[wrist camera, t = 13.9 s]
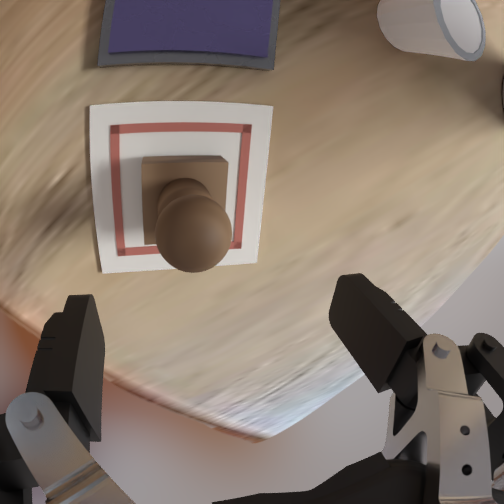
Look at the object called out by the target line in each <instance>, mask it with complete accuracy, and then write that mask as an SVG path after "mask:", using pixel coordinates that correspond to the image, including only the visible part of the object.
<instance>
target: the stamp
mask: <svg viewBox="0 0 504 504" xmlns="http://www.w3.org/2000/svg"><path fill="white" fill-rule="evenodd" d="M228 165H229V162H228V161H226V160H225V159H224V158H223V157H222V156H221V155H184V156H148V157H143V158H142V163H141V183H142V213H143V231H144V245H153V244H156V245H157V248H158V250H159V252H160V254H161V256H162V257H163V258H164V259H165V261H166V262H168V263H169V264H170V265H171V266H173V267H174V268H176V269H178V270H181V271H185V272H191V273H195V272H202V271H206V270H208V269H210V268H212V267H214V266H215V265H217V264H218V263H219V262H220V261H221V260H222V259H223V258H224V257H225V255H226V254H227V252H228V250H229V248H230V244H231V240H232V227H231V222H230V219H229V217H228V215H227V213H226V212H225V210H226V194H227V179H228Z"/></svg>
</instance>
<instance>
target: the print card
mask: <svg viewBox="0 0 504 504" xmlns="http://www.w3.org/2000/svg"><path fill="white" fill-rule="evenodd" d="M272 114H273V106H266V105H256V104H243V103H228V102H206V101H149V102H127V103H112V104H100V105H90V163H91V181H92V194H93V206H94V216H95V224H96V233H97V240H98V248H99V254H100V261H101V267H102V273H119V272H134V271H149V270H164V269H176V268H174V267H173V266H171V265H170V264H169V263H168V262H166V261H165V259H164V258H163V257H162V256H161V254H160V252H159V250H158V248H157V245H156V244H153V245H144V231H143V213H142V183H141V163H142V158H143V157H148V156H184V155H221V156H222V157H223V158H224V159H225V160H226V161H228V162H229V165H228V179H227V194H226V210H225V212H226V213H227V215H228V217H229V219H230V222H231V227H232V240H231V244H230V248H229V250H228V252H227V254H226V255H225V257H224V258H223V259H222V260H221V261H220V262H219V263H218V264H217V265H215V266H221V265H235V264H248V263H257V256H258V247H259V238H260V229H261V219H262V210H263V201H264V191H265V182H266V172H267V163H268V153H269V143H270V134H271V124H272Z"/></svg>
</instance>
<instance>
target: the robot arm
mask: <svg viewBox="0 0 504 504" xmlns="http://www.w3.org/2000/svg"><path fill="white" fill-rule="evenodd" d="M503 106H504V81H503ZM329 321H330V324H331V327H332V328H333V330H334V331H335V332H336V334H337V335H338V337H339V338H340V339H341V341H342V342H343V344H344V345H345V347H346V348H347V349H348V351H349V352H350V354H351V355H352V356H353V358H354V359H355V361H356V362H357V363H358V365H359V366H360V368H361V369H362V371H363V372H364V373H365V375H366V376H367V378H368V379H369V380H370V382H371V383H372V385H373V386H374V388H375V389H376V391H377V392H378V393H380V392H383V391H385V390H388V389H392V390H393V393H392V395H391V397H390V405H389V417H388V428H387V436H386V442H385V446H384V448H383V450H382V452H379V453H377V454H375V455H372V456H371V457H368V458H366V459H363V460H361V461H359V462H356V463H354V464H351V465H349V466H346V467H345V468H344V469H342V470H341V471H339V472H338V473H336V474H335V475H334V476H332V477H331V478H329V479H328V480H326V481H325V482H323V483H322V484H320V485H318V486H317V487H315V488H314V489H312V490H309V491H302V492H288V493H259V494H255V495H250V496H245V497H241V498H235V499H230V500H224V501H217V502H212V504H504V347H503V346H502V345H501V344H500V343H499V342H498V341H497V340H496V339H495V338H494V337H492V336H490V335H488V334H485V333H477V334H476V335H475V336H474V337H473V339H472V341H471V342H470V344H469V345H467V346H457V345H456V344H455V343H454V342H453V341H452V340H451V339H449V338H448V337H446V336H443V335H440V334H429V335H427V334H426V333H425V332H424V331H423V330H422V329H421V327H420V326H419V325H418V324H417V323H416V322H415V321H414V320H413V319H412V318H411V317H410V316H409V315H408V314H407V313H406V312H405V311H404V310H403V311H402V308H401V307H400V306H399V305H398V304H397V303H395V301H394V300H393V299H392V298H391V297H390V296H389V295H388V294H387V293H386V292H384V291H383V290H381V289H379V288H378V287H376V286H374V285H373V284H372V283H371V282H370V281H369V280H368V279H367V278H366V277H365V276H364V275H363V274H361V273H357V274H349V275H342V276H340V277H339V279H338V281H337V284H336V288H335V292H334V295H333V299H332V303H331V306H330V310H329ZM104 357H105V342H104V335H103V331H102V327H101V323H100V320H99V316H98V312H97V308H96V304H95V300H94V297H93V295H92V294H88V295H69V296H68V298H67V301H66V304H65V307H64V310H63V312H58V313H54V314H53V315H52V316H51V317H50V319H49V320H48V321H47V322H46V323H45V325H44V328H43V331H42V334H41V340H40V341H39V344H38V351H36V354H35V357H34V361H33V365H32V368H31V372H30V376H29V380H28V384H27V388H26V392H25V393H24V394H22V395H19V396H18V397H16V398H15V399H14V400H13V401H12V402H11V403H10V405H9V407H8V409H7V411H6V413H4V414H1V415H0V504H32V487H38V486H40V487H41V489H42V490H43V492H44V493H45V495H46V497H47V500H46V504H135V503H134V501H133V500H131V499H130V498H129V497H128V496H127V495H126V494H125V493H124V491H123V490H122V489H121V488H120V487H119V486H118V485H117V484H116V483H115V482H114V481H113V480H112V479H111V478H110V477H109V475H108V474H107V473H106V472H105V471H104V470H103V469H102V468H101V467H100V466H99V464H98V463H97V462H96V461H95V460H94V458H93V457H92V456H91V455H90V451H89V450H90V441H95V442H96V441H97V442H100V441H101V409H102V385H103V370H104ZM486 380H487V382H488V383H489V384H490V385H491V387H492V388H493V389H494V390H495V392H496V393H497V394H498V395H499V397H500V398H501V399H502V401H503V411H502V412H501V414H500V415H499V416H498V417H497V418H495V417H494V416H493V415H492V414H491V412H490V411H489V409H488V408H487V407H486V405H485V404H484V403H483V401H482V399H481V397H479V396H478V395H477V394H476V393H477V391H478V390H479V389H480V387H481V386H482V385H483V383H484V382H485V381H486ZM491 479H492V481H491Z"/></svg>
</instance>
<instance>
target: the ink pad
mask: <svg viewBox="0 0 504 504" xmlns="http://www.w3.org/2000/svg"><path fill="white" fill-rule="evenodd" d="M279 9H280V0H106V2H105V8H104V14H103V21H102V28H101V36H100V45H99V54H98V66H99V67H111V66H125V65H146V64H192V65H213V66H227V67H239V68H249V69H257V70H265V71H270V70H274V60H275V50H276V40H277V30H278V19H279Z"/></svg>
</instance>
